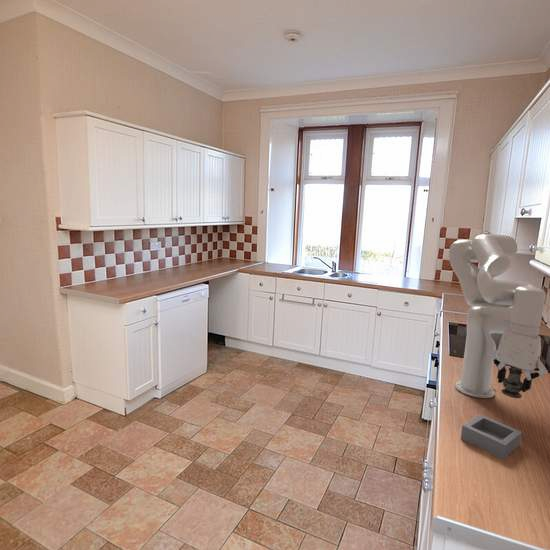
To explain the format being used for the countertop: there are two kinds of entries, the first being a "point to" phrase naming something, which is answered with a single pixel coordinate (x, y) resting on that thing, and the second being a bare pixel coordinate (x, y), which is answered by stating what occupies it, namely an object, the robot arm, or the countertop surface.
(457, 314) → the countertop surface
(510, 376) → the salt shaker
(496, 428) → the holder
